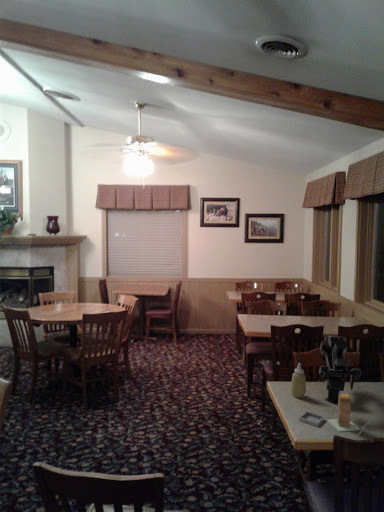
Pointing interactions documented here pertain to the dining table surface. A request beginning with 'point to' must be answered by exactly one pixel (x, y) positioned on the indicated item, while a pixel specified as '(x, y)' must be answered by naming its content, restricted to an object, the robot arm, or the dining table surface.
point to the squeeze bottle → (298, 383)
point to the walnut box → (344, 410)
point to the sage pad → (341, 428)
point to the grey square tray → (311, 418)
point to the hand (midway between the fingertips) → (341, 389)
